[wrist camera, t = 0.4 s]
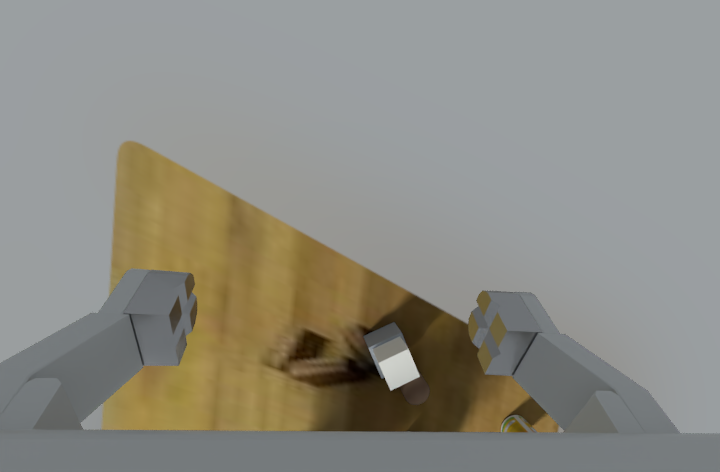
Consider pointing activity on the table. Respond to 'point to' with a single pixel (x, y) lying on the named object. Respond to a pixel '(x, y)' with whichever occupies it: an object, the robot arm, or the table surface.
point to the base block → (382, 340)
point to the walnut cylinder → (416, 390)
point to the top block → (396, 363)
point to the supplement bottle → (516, 425)
